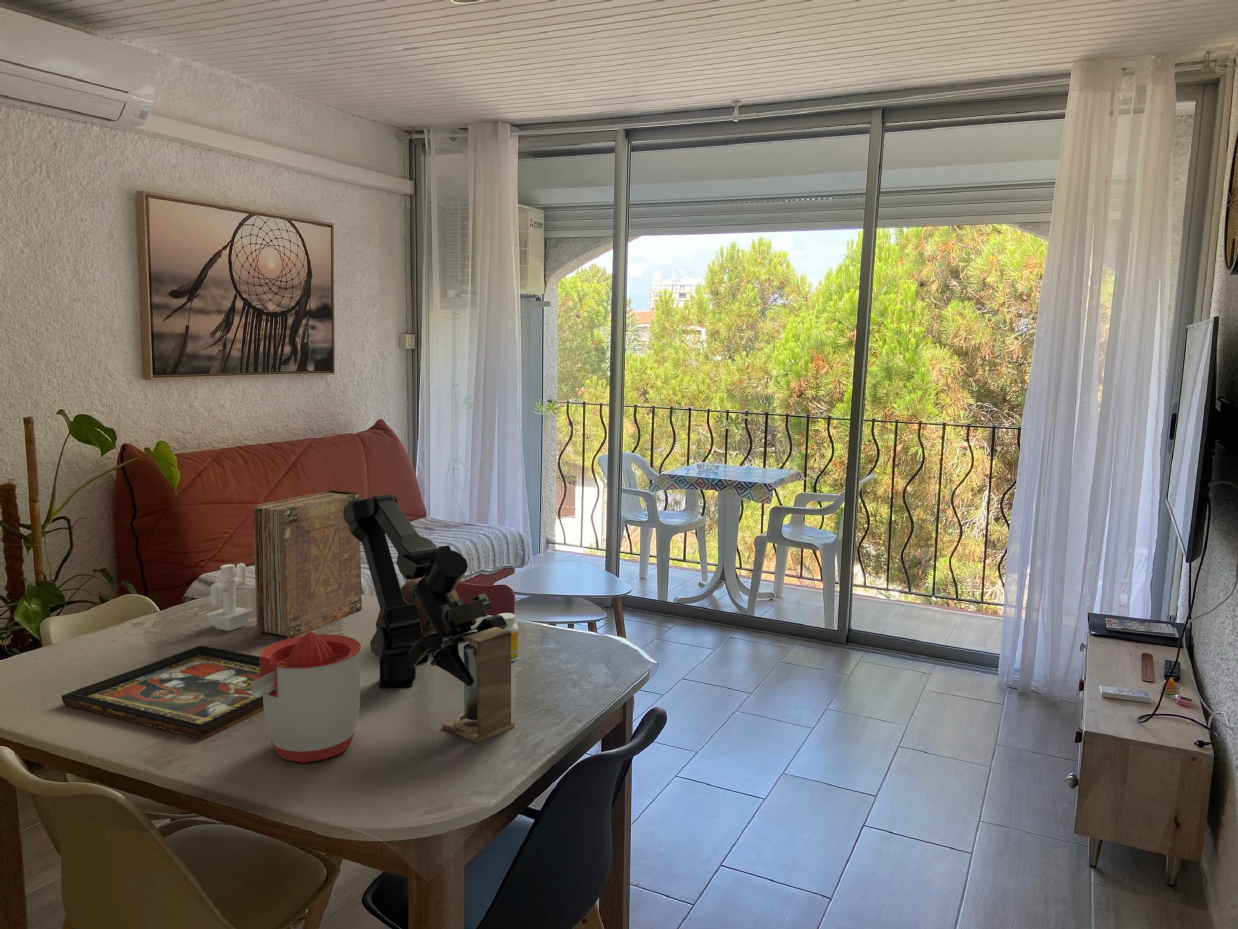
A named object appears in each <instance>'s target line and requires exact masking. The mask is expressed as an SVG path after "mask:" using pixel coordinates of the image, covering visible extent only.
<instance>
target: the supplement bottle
mask: <svg viewBox="0 0 1238 929" xmlns="http://www.w3.org/2000/svg"><path fill="white" fill-rule="evenodd" d="M497 615H500V616H503V618H504V619H505V621H506V623H507V625H508V626H507V627H506V628H505V629H504V630H507V631H511V663H512V662H515V661H517V660H518V658H519V626H518V625H517V623H516V614H514V613H511V612H502V613H498V614H497Z"/></svg>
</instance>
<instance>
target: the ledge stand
mask: <svg viewBox="0 0 1238 929" xmlns="http://www.w3.org/2000/svg"><path fill="white" fill-rule="evenodd" d="M465 641H466V643H472V644H475V645H477V720H469V719H467V718H465V717H464V712H463V713H461V714H459V715H457V716H456V717H455V718H452V719H450V720H447V721H445V722H442V724H441V726H442V729H444V730H447V731H449V732H451V733H454V734H455V735H458V736H460V737H463V738H465V739H466V740H469V741H471V742H473V743H475V744H479V743H481V742H484V741H485V740H488V739H490V738H493V737H495V736H497V735H499V734H501V733H504V732H507V731H508V730H510V729H513V728H515V726H516V725H515V724H516V723H515V722H513V721H512V662H511V631H507V630H504V629H501V628H498V627H493V628H490V629H487V630H484V631H481V632H477V633H474V634H471V635H468V636H465Z"/></svg>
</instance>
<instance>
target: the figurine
mask: <svg viewBox="0 0 1238 929" xmlns="http://www.w3.org/2000/svg"><path fill="white" fill-rule="evenodd" d="M235 569H236V570H235ZM246 570H247V569H246V565H245V563H242V562H241V563H237V564H236V565H235V564H232V563H231V564H229V563H227V564H224V565H220V573H221V580H220V581H217V582H214V583H212V584H211V586H210V605H211V606H212V607H219V606H220V605H221V604H222V608H220V609H218V610H215V611H211V612H208V613H206V614H205V615H206V616H207V618H208V619H209V620H210V622H211V623H212V625H213V626H214V628H215V629H216V630H221V631H223V630H224V631H228V632H229V631H231V632H232V631H233V630H237V629H239V628H241V627H242V628H243V627H245V626H246V625H247V622H248V621H249V619H250V617H251V615H252V613H253V612H254V609H252V608H251V609H250V608H246V607H240V606H239V607H238V606H237V600H236V599H237V598H236V597H237V596H236V595H237V594H236V590H237V589H239V588H242V587H244V586H245V585H246V583H247V571H246ZM221 597H222V603H221Z"/></svg>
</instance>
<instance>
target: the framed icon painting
mask: <svg viewBox="0 0 1238 929" xmlns="http://www.w3.org/2000/svg"><path fill="white" fill-rule="evenodd" d="M259 656H260V655H259ZM259 656H258V655H253V654H248V653H244V652H243V653H242V652H236V651H231V650H228V649H223V648H216V647H211V646H205V645H198V646H196V647H193V648H190V649H187V650H184V651H182V652H179V653H176V654H173V655H171V656H168V657H166V658H162V659H160V660H157V661H154V662H152V663H149V664H145V665H144V666H140V667H138V668H135V669H132V670H130V671H127V672H122V673H121V674H119V675H115V676H112V677H109V678H107V679H104V680H101V681H97V682H96V683H91V684H89V685H86V686H83V687H80V688H78V689H75V690H73V691H70V692H67V693H64V694H62V695H61V701H62V703H63V704H64V705H66V706H69V707H72V708H76V707H77V708H78V709H80V708H82V709H81V710H84V709H86V710H85V711H88V710H90V711H89V712H92V711H95V712H98V713H97V714H100V713H102V714H101V715H104V714H106V715H105V716H107V715H110V716H109V717H111V716H114V717H113V718H115V717H116V719H119V718H120V719H119V720H123V719H125V720H124V721H128V720H131V721H130V722H133V721H136V722H135V723H137V722H140V723H139V724H141V723H144V724H148V725H152V726H156V727H161V728H165V729H168V730H172V731H175V732H179V733H182V734H185V735H184V736H187V735H190V736H189V737H191V736H193V737H192V738H195V737H197V738H196V739H199V738H201V739H200V740H203V739H202V738H205V739H207V738H210V737H211V736H213V735H215V733H216V734H217V732H218V733H220V732H222V731H224V730H226V729H228V728H231V727H232V726H234V725H237V724H239V723H241V722H243V721H245V720H246V719H249V718H251V717H253V716H255V715H257V714H260V713H261V712H264V707H263V696H261V697H259V698H257V697H254V696H253V695H252V693H251V686H252V684H253V682H254V681H255V680H257V679H258V678H260V660H259ZM95 712H94V713H95ZM236 723H237V724H236ZM144 724H143V725H144ZM223 729H224V730H223ZM168 730H167V731H168ZM221 730H222V731H221ZM172 731H171V732H172ZM219 731H220V732H219ZM175 732H174V733H175ZM182 734H181V735H182Z"/></svg>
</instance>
